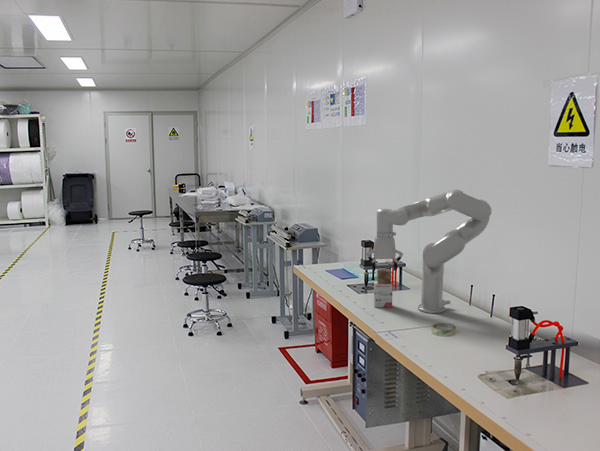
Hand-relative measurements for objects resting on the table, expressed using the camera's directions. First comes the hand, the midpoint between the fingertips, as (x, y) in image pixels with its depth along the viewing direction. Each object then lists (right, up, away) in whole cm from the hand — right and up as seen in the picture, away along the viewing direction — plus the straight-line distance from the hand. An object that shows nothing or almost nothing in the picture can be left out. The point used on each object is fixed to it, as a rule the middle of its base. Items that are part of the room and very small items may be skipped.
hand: (384, 270), depth 256 cm
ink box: (0, -18, +3) cm, 18 cm away
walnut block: (0, -6, +1) cm, 6 cm away
